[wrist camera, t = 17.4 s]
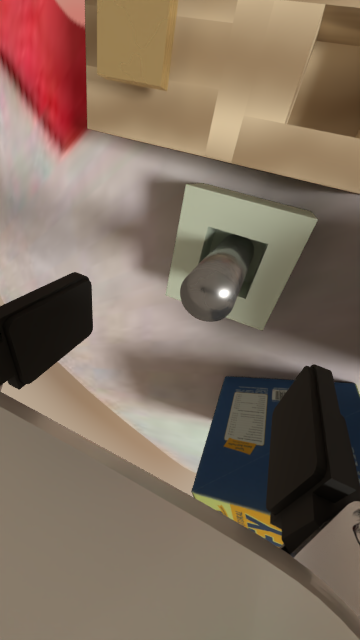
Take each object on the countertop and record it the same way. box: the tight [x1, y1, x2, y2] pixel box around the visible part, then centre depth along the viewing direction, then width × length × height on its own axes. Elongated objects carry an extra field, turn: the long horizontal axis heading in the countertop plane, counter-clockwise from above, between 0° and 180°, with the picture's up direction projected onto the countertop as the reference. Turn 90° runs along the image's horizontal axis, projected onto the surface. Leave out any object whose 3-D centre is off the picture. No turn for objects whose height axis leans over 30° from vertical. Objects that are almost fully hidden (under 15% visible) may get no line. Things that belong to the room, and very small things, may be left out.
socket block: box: [85, 0, 360, 194], centre depth 16 cm, size 10×22×5 cm, turn 78°
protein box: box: [192, 376, 360, 548], centre depth 26 cm, size 10×15×16 cm
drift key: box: [97, 0, 178, 91], centre depth 15 cm, size 4×4×5 cm
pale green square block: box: [166, 183, 318, 331], centre depth 22 cm, size 10×10×5 cm
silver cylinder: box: [180, 234, 254, 322], centre depth 19 cm, size 4×4×11 cm
